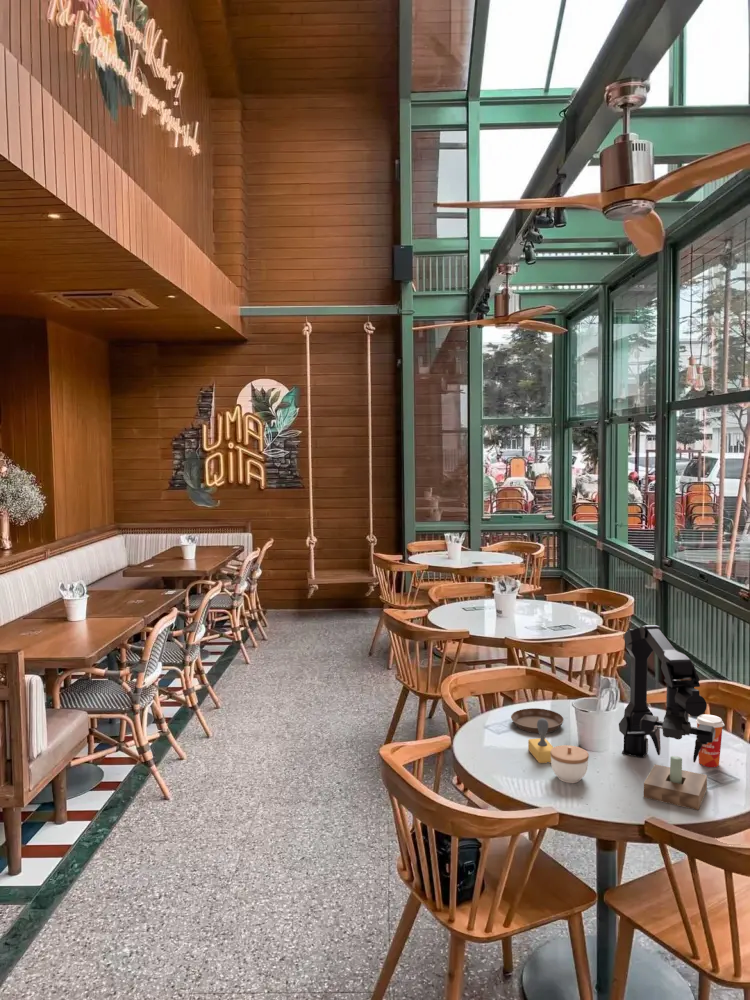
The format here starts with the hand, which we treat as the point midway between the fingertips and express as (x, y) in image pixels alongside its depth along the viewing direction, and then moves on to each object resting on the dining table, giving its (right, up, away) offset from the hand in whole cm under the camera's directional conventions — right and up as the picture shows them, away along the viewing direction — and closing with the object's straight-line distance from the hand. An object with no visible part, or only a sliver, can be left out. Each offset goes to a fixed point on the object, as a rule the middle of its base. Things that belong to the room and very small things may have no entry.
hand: (676, 758), depth 206 cm
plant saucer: (-27, -7, +51) cm, 58 cm away
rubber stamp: (-31, -9, +26) cm, 42 cm away
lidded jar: (-27, -10, +11) cm, 30 cm away
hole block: (0, -10, +1) cm, 10 cm away
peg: (0, -10, +1) cm, 10 cm away
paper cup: (+18, -9, +19) cm, 28 cm away
